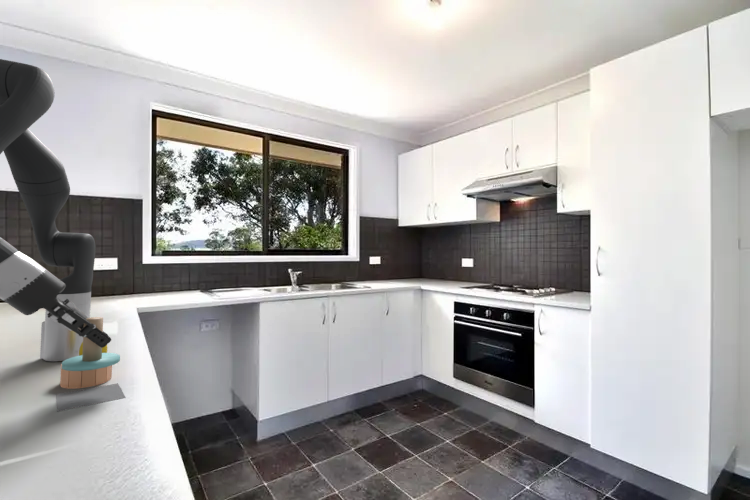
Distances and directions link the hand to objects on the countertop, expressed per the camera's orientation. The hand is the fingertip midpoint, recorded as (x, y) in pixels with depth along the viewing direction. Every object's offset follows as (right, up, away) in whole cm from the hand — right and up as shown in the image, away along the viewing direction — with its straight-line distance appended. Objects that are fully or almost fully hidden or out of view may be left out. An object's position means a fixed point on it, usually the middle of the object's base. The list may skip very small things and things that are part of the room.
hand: (105, 341), depth 72 cm
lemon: (-16, -11, +17) cm, 26 cm away
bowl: (-9, -11, +6) cm, 15 cm away
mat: (-2, -11, -2) cm, 11 cm away
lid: (-2, -5, -1) cm, 5 cm away
